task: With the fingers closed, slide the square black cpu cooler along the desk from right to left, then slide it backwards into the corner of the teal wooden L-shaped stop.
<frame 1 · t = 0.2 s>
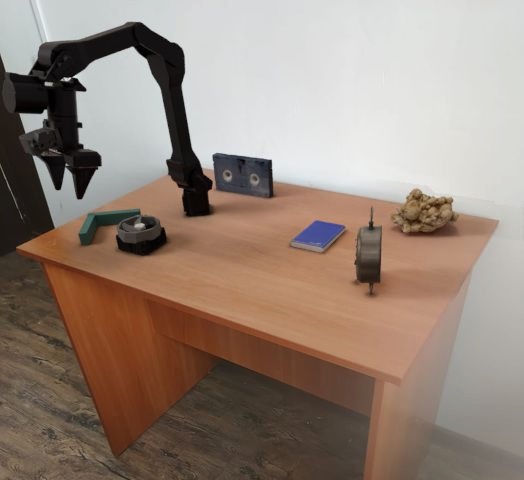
hand: (68, 194, 108), 15 cm above the table, tool pointing down, fingers open, 9 cm apart
blue book: (318, 239, 118), on the table
mineral formation: (424, 229, 119), on the table
corner stop: (112, 230, 129), on the table
vhs cassette tape: (244, 193, 144), on the table
cpu cooler: (143, 245, 121), on the table
alarm clock: (366, 284, 101), on the table
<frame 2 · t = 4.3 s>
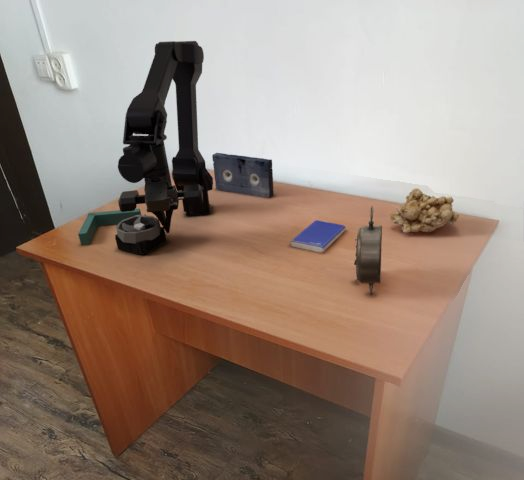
hand: (168, 232, 119), 3 cm above the table, tool pointing down, fingers closed
cpu cooler: (142, 245, 121), on the table, touching gripper
everything else where it was.
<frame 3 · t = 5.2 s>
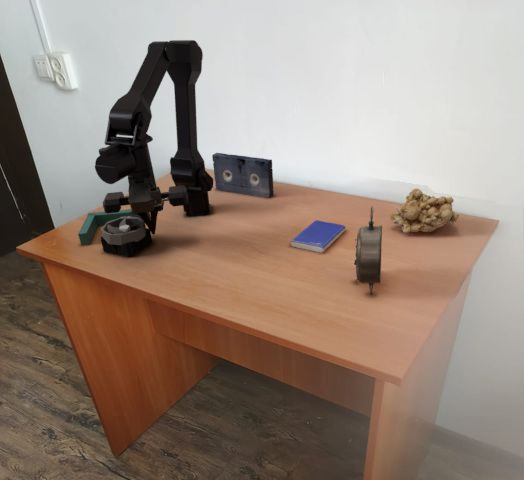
hand: (153, 233, 119), 3 cm above the table, tool pointing down, fingers closed
cpu cooler: (128, 247, 121), on the table, touching gripper
everything else where it was.
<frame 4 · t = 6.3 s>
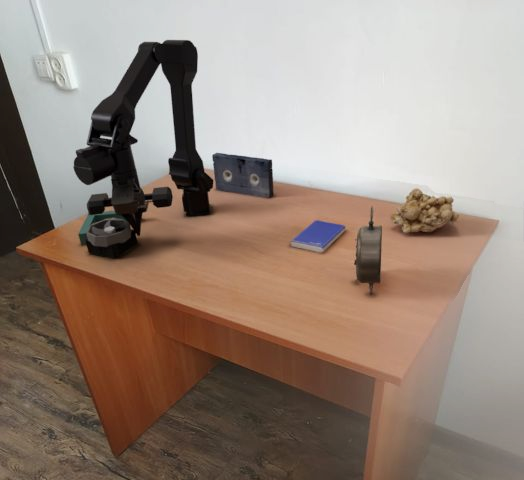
hand: (138, 235, 119), 3 cm above the table, tool pointing down, fingers closed
cpu cooler: (113, 249, 121), on the table, touching gripper
everything else where it was.
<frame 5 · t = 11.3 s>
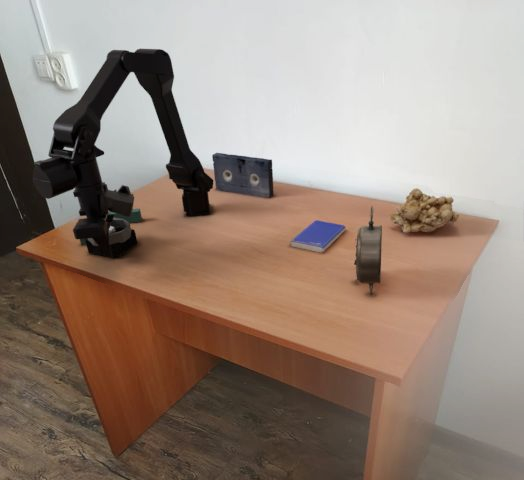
hand: (106, 250, 113), 3 cm above the table, tool pointing down, fingers closed
nothing on the table moved.
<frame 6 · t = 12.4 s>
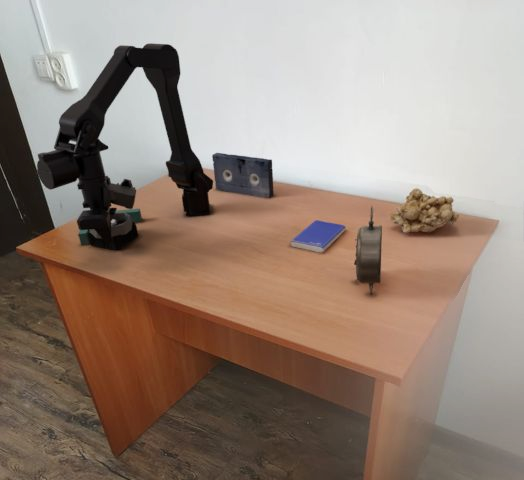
hand: (108, 242, 117), 3 cm above the table, tool pointing down, fingers closed
cpu cooler: (115, 241, 124), on the table, touching gripper
everything else where it was.
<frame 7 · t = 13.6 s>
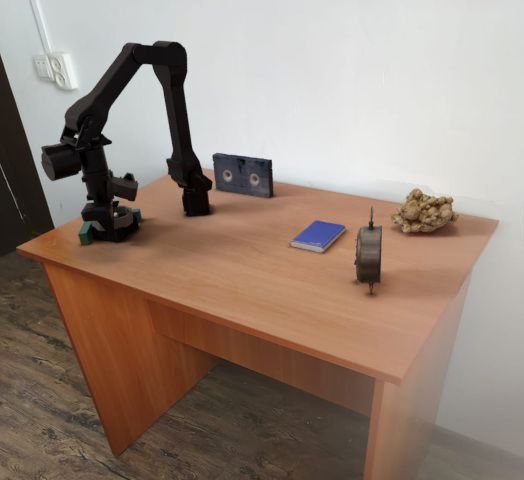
hand: (111, 234, 120), 3 cm above the table, tool pointing down, fingers closed
cpu cooler: (116, 234, 127), on the table, touching corner stop, gripper
everything else where it was.
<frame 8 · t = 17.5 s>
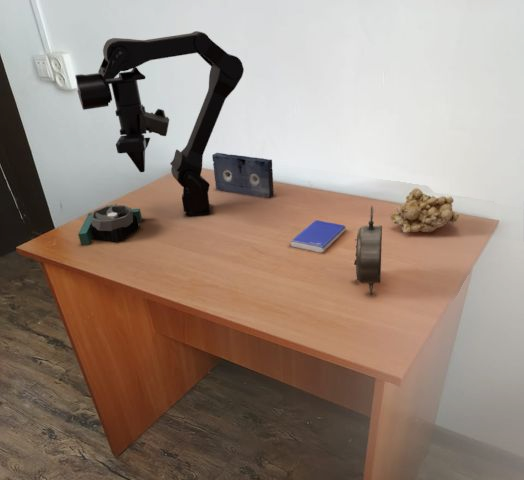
hand: (142, 171, 124), 13 cm above the table, tool pointing down, fingers closed
cpu cooler: (116, 234, 127), on the table, touching corner stop
everything else where it was.
at the end: cpu cooler inside the target area (2.8 cm from its centre), on the table; cpu cooler inside the target area (1.3 cm from its centre), on the table; cpu cooler tilted 0° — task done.
